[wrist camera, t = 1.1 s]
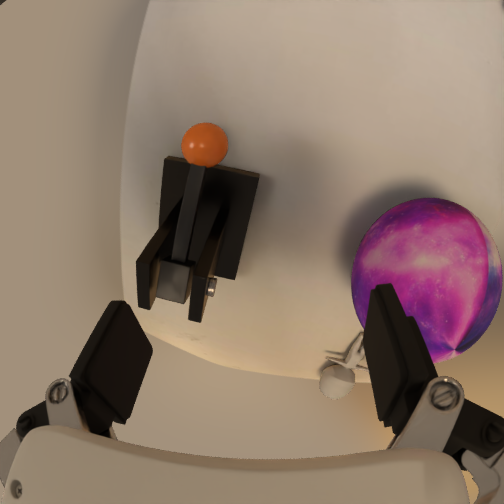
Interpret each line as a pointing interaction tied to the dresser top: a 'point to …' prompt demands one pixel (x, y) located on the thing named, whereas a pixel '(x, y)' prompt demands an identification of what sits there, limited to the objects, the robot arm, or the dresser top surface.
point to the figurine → (342, 372)
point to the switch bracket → (199, 230)
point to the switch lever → (190, 209)
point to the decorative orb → (432, 271)
